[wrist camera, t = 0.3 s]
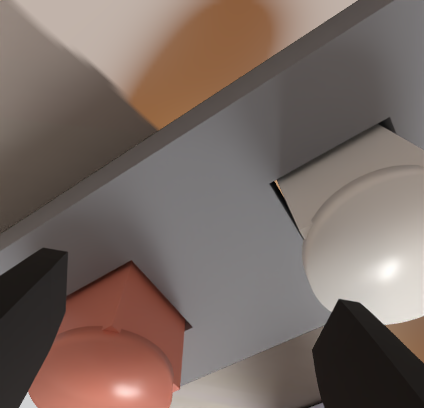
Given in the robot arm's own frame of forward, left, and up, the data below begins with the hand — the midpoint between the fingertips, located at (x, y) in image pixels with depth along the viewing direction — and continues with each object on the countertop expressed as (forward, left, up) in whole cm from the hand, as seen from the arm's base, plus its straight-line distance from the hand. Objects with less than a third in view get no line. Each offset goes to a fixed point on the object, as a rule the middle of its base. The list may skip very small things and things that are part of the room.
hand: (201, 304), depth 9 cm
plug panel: (-3, +1, -10) cm, 10 cm away
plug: (-3, -5, -6) cm, 9 cm away
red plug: (-3, +7, -6) cm, 10 cm away
